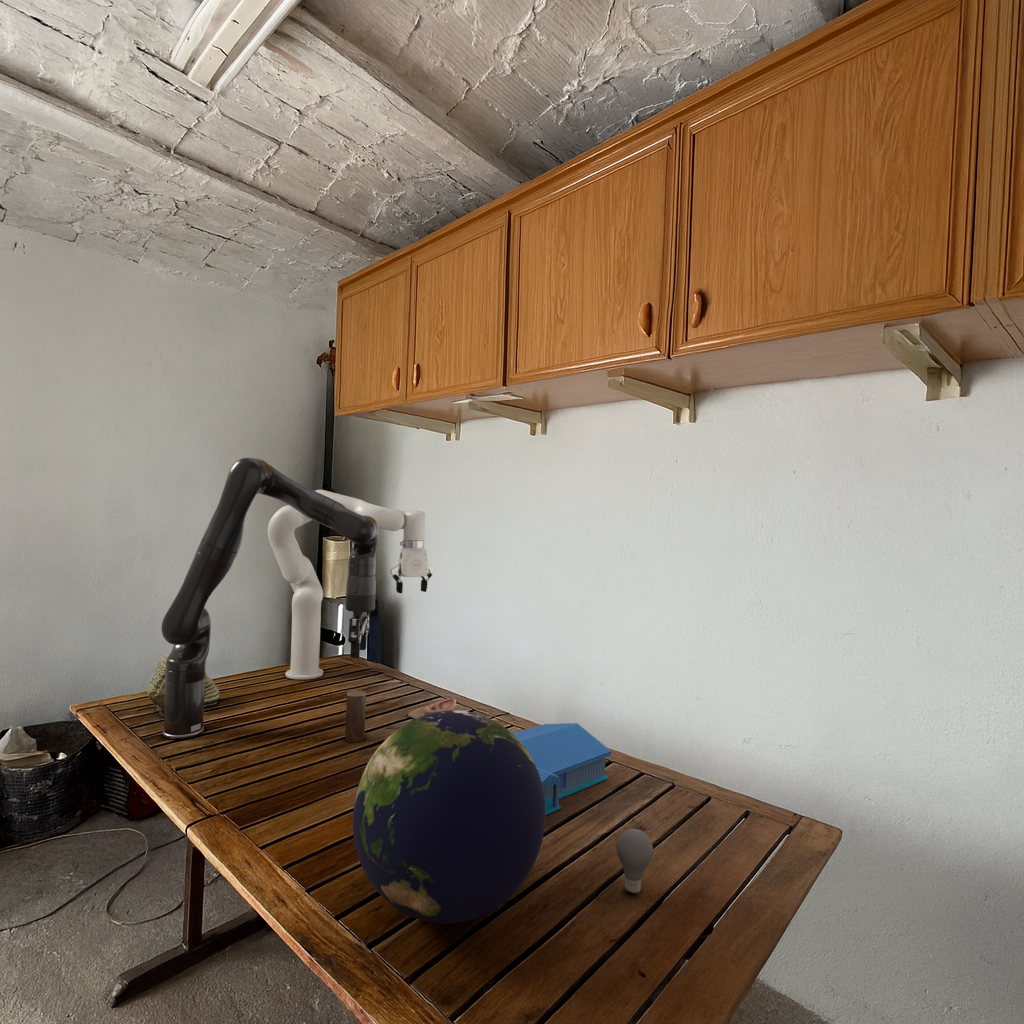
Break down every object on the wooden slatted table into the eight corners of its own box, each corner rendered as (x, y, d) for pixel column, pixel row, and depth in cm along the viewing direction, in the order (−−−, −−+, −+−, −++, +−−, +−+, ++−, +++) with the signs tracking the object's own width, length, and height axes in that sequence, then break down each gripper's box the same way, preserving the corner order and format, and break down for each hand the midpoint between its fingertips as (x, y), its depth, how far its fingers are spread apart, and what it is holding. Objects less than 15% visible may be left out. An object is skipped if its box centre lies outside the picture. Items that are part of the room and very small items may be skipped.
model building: (490, 838, 120) (492, 786, 120) (417, 791, 138) (419, 745, 138) (619, 783, 146) (621, 740, 146) (544, 749, 164) (545, 711, 164)
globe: (306, 934, 92) (314, 729, 91) (413, 836, 119) (420, 678, 119) (495, 1005, 80) (505, 771, 80) (565, 878, 108) (573, 704, 108)
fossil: (144, 707, 182) (145, 655, 182) (212, 696, 194) (213, 647, 194) (151, 716, 175) (153, 662, 175) (221, 703, 188) (223, 653, 188)
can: (345, 743, 163) (346, 696, 163) (344, 735, 168) (346, 690, 168) (364, 741, 164) (366, 695, 164) (363, 734, 169) (365, 689, 169)
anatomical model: (404, 704, 182) (418, 693, 193) (403, 718, 182) (417, 706, 193) (448, 710, 180) (460, 697, 191) (448, 723, 180) (459, 711, 191)
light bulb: (610, 879, 108) (613, 822, 108) (644, 879, 109) (647, 822, 109) (619, 902, 102) (622, 840, 102) (655, 901, 103) (658, 840, 103)
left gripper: (370, 596, 159) (367, 661, 159) (380, 588, 173) (377, 647, 173) (339, 595, 158) (337, 660, 159) (352, 587, 173) (350, 646, 173)
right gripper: (396, 546, 220) (394, 595, 221) (439, 545, 231) (437, 592, 231) (387, 544, 226) (385, 591, 227) (429, 543, 237) (427, 589, 237)
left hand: (358, 653), depth 166 cm, fingers open, 8 cm apart
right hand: (411, 592), depth 229 cm, fingers open, 9 cm apart
